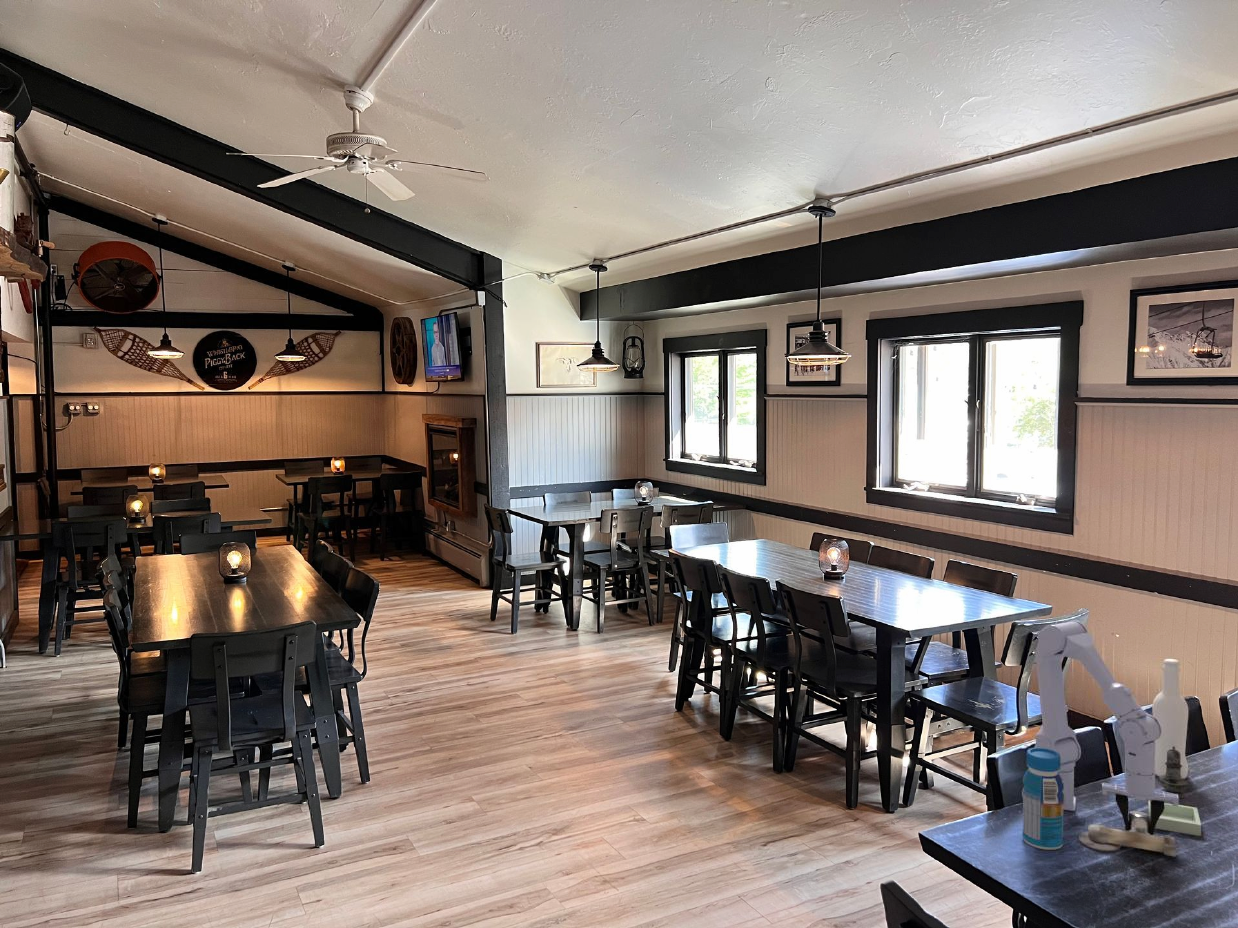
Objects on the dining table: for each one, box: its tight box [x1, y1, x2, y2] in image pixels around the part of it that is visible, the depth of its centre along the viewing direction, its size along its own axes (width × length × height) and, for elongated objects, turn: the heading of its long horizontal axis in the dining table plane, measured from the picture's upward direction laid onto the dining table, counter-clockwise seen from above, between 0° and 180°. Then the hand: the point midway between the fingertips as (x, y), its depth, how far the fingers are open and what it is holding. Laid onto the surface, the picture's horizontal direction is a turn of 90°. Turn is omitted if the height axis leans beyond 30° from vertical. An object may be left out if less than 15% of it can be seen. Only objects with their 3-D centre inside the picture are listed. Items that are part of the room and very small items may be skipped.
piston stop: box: [1128, 810, 1150, 835], centre depth 199 cm, size 4×4×5 cm
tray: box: [1147, 800, 1202, 837], centre depth 205 cm, size 10×10×2 cm
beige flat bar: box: [1087, 824, 1177, 857], centre depth 194 cm, size 16×5×2 cm, turn 62°
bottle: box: [1151, 658, 1189, 780], centre depth 231 cm, size 8×8×30 cm
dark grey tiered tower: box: [1158, 746, 1188, 800], centre depth 220 cm, size 6×6×12 cm
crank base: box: [1078, 830, 1121, 852], centre depth 197 cm, size 8×8×1 cm
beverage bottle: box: [1021, 747, 1065, 851], centre depth 197 cm, size 8×8×20 cm
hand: (1139, 830), depth 199 cm, fingers closed on piston stop, 4 cm apart
